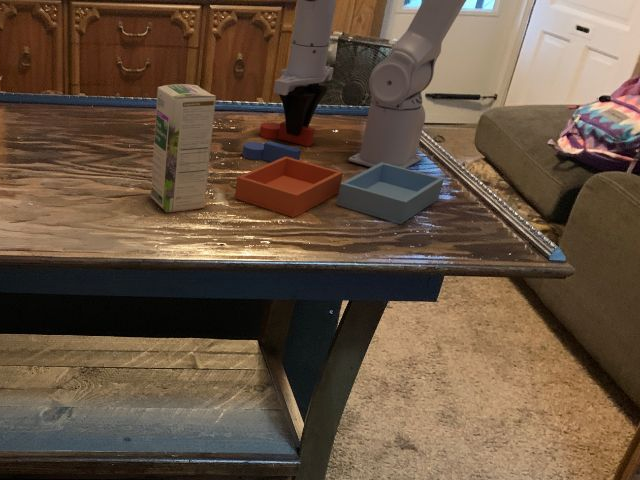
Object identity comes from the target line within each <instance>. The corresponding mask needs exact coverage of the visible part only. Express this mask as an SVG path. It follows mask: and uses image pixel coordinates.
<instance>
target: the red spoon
mask: <svg viewBox="0 0 640 480" xmlns="http://www.w3.org/2000/svg"><path fill="white" fill-rule="evenodd" d="M259 126H260V127H259V136H260V137H262V138H264V139H271V140H276V139H278V140H281V141H285V142H290V143H293V144H296V145H300V146H304V147H309V146H312V144H313V140H314V135H315V128H313V127H310V126H308V127H306V126H303V127H302V130H301V132H300V135H299V136H295V135H291V134H287V132H286V122H285V120H284V121H282V122H280V123H277V122H271V121H270V122H269V121H268V122H262V123H261V124H260V125H259Z"/></svg>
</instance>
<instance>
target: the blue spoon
mask: <svg viewBox="0 0 640 480" xmlns="http://www.w3.org/2000/svg"><path fill="white" fill-rule="evenodd" d="M301 153H302V149H300V148H297V147H293V146H290V145H286V144H282V143H278V142H276V141H270V140H269V141H266V142H264V143H263V142H259V141H247V142H245V143H243V146H242V153H241V154H242V157H243V158H244V159H248V160H253V161H266V162H268V163H271V162H274V161H276V160H278V159H281V158H283V157H285V156H286V157H289V158H293V159H296V160H300V158H301Z"/></svg>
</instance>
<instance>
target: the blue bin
mask: <svg viewBox="0 0 640 480" xmlns="http://www.w3.org/2000/svg"><path fill="white" fill-rule="evenodd" d="M444 181H445V178H443V177H440V176H436V175H433V174H429V173H424V172H421V171H417V170H413V169H410V168H402V167H398V166H394V165H391V164H387V163H383V162H381V163H379V164H377V165H375V166H373V167H369V168H367V169H365V170H364V171H362V172H359V173H358V174H356V175H354V176H352V177H350V178H348V179H346V180H344V181H341V184H340V189H339V193H338V194H337V198H336V206H339V207H342V208H346V209H348V210H352V211H355V212H358V213H362V214H366V215H369V216H372V217H375V218H378V219H381V220H385V221H388V222H392V223H395V224H398V225H402V224H404V223H405V222H406V221H408V220H410V219H411V218H412V217H414V216H416V215H417V214H419V213H420V212H421V211H423V210H425V209H426V208H428V207H429V206H431V205H432V204H434V203H436V202H437V201H438V200H440V199H439V198H440V196H441V192H442V189H443V184H444Z"/></svg>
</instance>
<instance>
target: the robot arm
mask: <svg viewBox="0 0 640 480" xmlns="http://www.w3.org/2000/svg"><path fill="white" fill-rule="evenodd" d="M337 1H338V0H297V1H296V7H295V14H294V20H293V25H292V26H293V28H292V35H291V40H290V49H289V54H288V55H289V56H288V63H287V68H286V67H285V68H282V69H280V75H281V76H280V77H279V78H277V79H274V87H273V88H274V89H273V94H276V95H278V96H279V98H280V101H281V104H282V107H283V112H284V121H285V122H286V132H287V134H291V135H295V136H299V135H300V132H301V130H302V127H303V126H306V127H310V124H311V121H312V118H313V116H314V114H315V111H316V110H317V107H318V105H319V104H320V102H321V101H322V99H323V98H324V97H325V95H326V94H327V93H328V87H327V86H326V85H321V84H320V83H323V82H325V81H327V82H329V81H332V79H333V73H334V67H332V66H327V61H328V53H329V48H330V42H331V37H332V31H333V25H334V19H335V14H336V5H337ZM466 2H467V0H422V3H421V4H420V5H419V7H418V9H417V11H416V13H415V15H414V17H413V19H412V21H411V22H410V24H409V26H408V27H407V29H406V31H405V32H404V33H403V34H402V36H401V37H400V38H399V39H397V41H396V42H395V44H394V45H393V46H392V47H391V50H390V52H389V53H388V54H387V56H386V57H385V58H383V60H382V61H380V62H378V63H377V64H376V65H375V67H374V68H373V69H372V71H371V72H370V76H369V79H368V89H369V92H370V94H371V97H370V98H371V99H370V103H369V108H368V113H367V116H366V117H367V118H366V123H365V126H364V132H363V136H362V140H361V141H362V142H361V146H360V150H359V151H360V152H358V153H356V154H354V155H352V156H350V157H349V158H348V162H350V163H354V164H358V165H361V166H365V167H369V168H371V167H373V166H375V165H377V164H379V163H381V162H383V163H387V164H391V165H394V166H398V167H402V168H406V169H408V168H410V167H411V166H413V165H414V164H417V163H418V162H420V161H421V160H423V159H422V158H423V157H422V156H421V155H417V154H418V149H419V145H420V142H421V139H422V134H423V130H424V127H425V121H426V111H425V110H426V109H425V108H424V105H423V96H422V92H423V91H425V90H426V89H427V88H428V87H429V86H430V84H431V82H432V80H433V78H434V75H435V65H436V62H437V60H438V58H439V57H440V54H441V53H442V43H443V41H444V39H445V37H446V36H447V34H448V32H449V31H450V29H451V28H452V26H453V24H454V23H455V20H456V19H457V17H458V16H459V14H460V13H461V11H462V8H463V7H464V5H465V3H466Z"/></svg>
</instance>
